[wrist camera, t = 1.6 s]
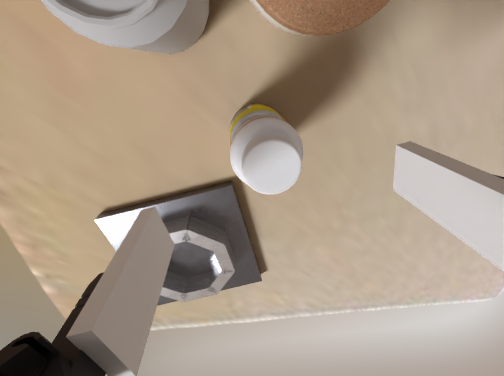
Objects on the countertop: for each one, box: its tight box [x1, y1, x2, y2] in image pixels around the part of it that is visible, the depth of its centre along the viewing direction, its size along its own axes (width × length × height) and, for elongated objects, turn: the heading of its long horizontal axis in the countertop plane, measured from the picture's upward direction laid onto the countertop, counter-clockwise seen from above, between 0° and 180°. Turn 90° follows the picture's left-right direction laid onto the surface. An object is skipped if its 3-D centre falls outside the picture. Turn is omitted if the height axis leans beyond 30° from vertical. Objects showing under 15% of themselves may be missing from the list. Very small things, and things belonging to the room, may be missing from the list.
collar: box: [95, 181, 262, 305], centre depth 29 cm, size 16×16×4 cm
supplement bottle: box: [230, 103, 303, 194], centre depth 20 cm, size 6×6×10 cm
